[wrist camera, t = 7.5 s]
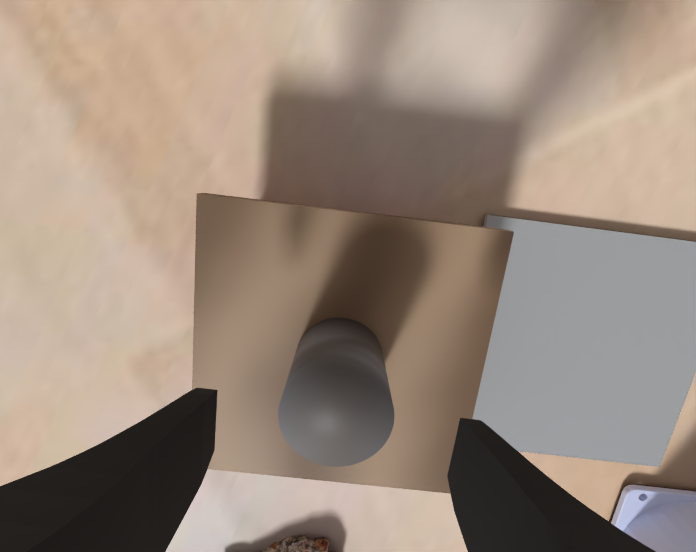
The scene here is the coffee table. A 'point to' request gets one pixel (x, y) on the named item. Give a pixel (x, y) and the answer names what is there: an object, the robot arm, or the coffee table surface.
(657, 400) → the rubber mat
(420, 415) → the walnut lid
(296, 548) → the mineral rock
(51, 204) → the coffee table surface
